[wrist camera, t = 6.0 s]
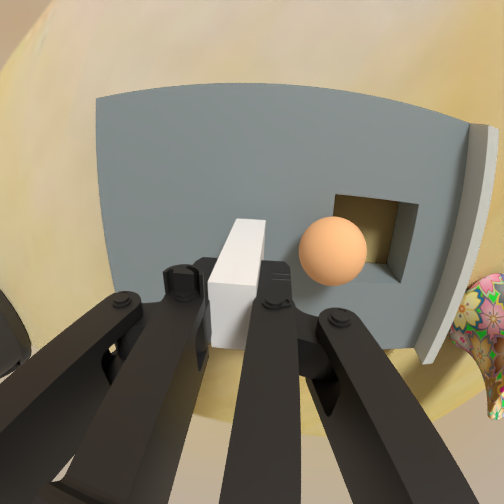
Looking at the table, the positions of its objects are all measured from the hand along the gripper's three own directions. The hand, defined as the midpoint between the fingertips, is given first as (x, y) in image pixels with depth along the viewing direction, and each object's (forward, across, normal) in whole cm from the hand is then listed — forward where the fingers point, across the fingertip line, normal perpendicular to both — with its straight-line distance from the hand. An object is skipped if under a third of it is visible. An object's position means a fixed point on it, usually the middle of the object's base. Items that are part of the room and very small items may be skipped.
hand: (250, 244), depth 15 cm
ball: (0, +6, 0) cm, 6 cm away
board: (+5, +2, 0) cm, 5 cm away
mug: (+5, +22, -6) cm, 23 cm away
